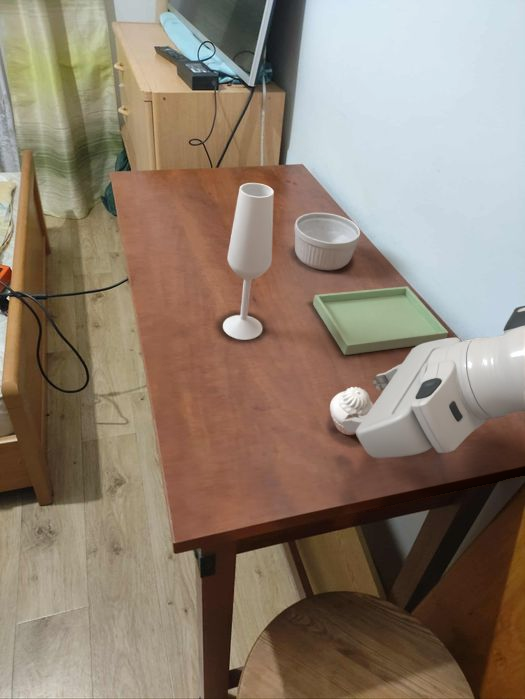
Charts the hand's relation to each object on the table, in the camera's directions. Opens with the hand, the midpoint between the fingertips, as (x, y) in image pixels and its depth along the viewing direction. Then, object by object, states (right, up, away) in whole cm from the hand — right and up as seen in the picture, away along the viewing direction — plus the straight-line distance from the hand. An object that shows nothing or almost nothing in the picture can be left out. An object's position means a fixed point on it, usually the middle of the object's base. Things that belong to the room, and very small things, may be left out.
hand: (362, 402), depth 67 cm
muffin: (-1, -4, +4) cm, 6 cm away
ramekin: (-1, +26, +39) cm, 47 cm away
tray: (+7, +12, +24) cm, 27 cm away
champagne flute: (-16, +11, +19) cm, 27 cm away
